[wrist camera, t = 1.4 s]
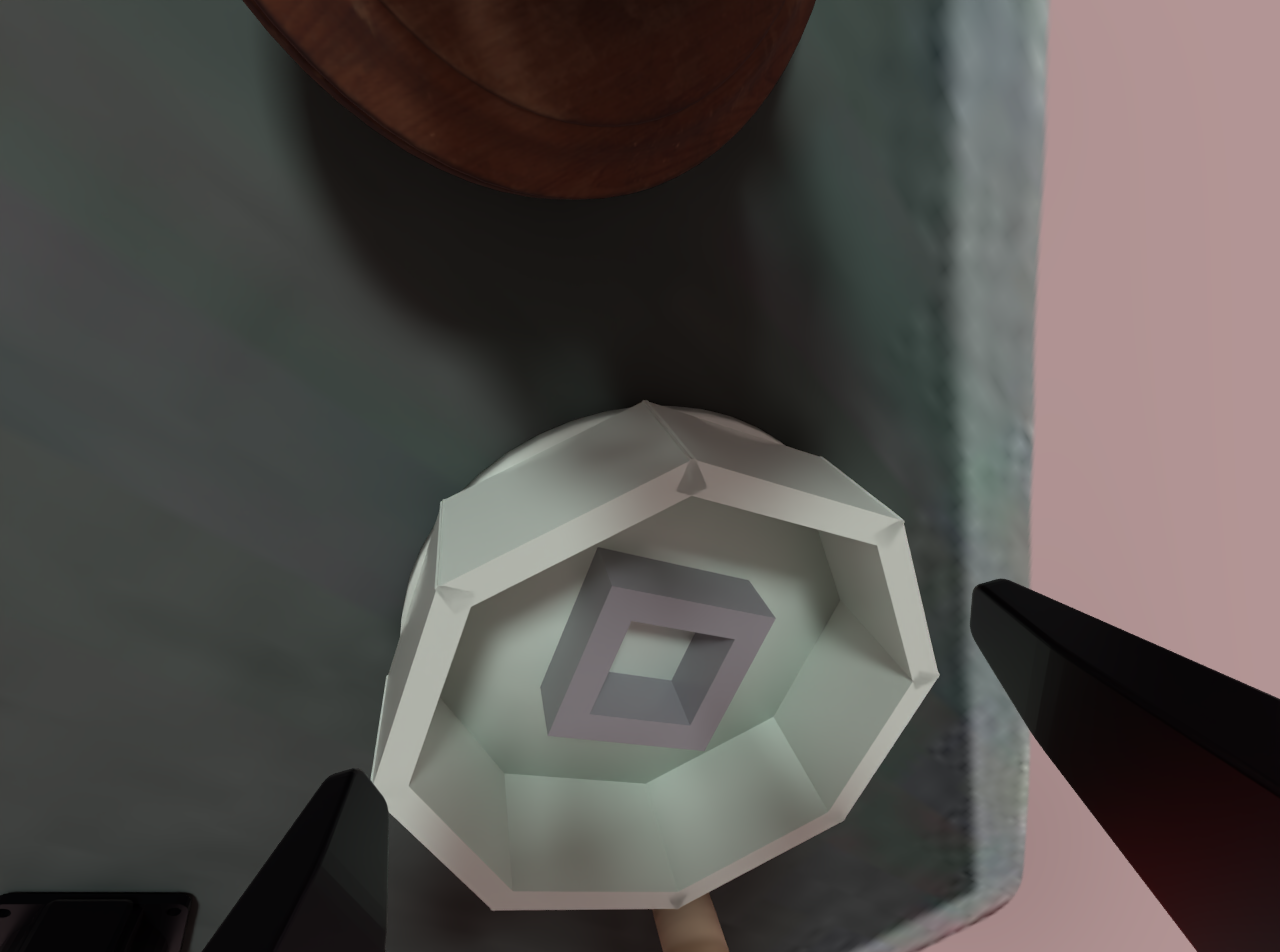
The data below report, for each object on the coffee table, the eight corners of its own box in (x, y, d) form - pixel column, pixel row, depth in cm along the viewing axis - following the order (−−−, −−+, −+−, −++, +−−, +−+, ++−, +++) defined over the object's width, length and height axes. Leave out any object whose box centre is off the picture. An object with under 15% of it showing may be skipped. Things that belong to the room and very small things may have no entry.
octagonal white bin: (734, 791, 32) (787, 910, 27) (352, 764, 26) (323, 915, 20) (914, 477, 27) (1026, 551, 21) (483, 334, 20) (491, 391, 15)
